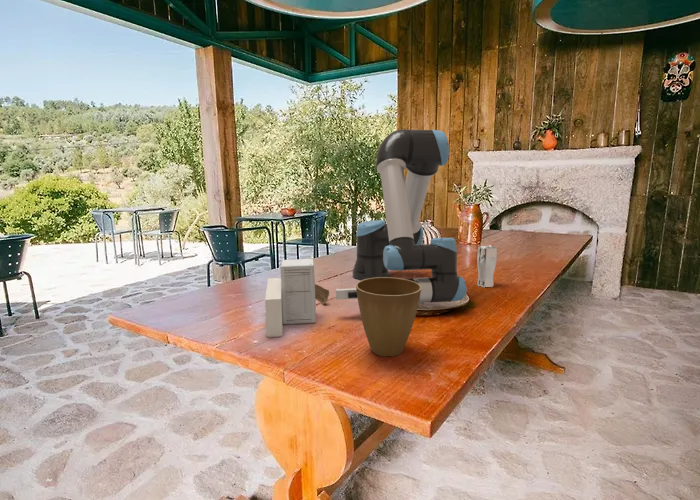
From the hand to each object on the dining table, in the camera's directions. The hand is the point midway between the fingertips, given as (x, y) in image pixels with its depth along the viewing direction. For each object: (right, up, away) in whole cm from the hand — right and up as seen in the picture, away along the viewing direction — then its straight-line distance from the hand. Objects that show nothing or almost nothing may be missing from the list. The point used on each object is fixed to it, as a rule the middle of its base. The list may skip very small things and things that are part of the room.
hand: (336, 294), depth 112 cm
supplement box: (-11, -7, +1) cm, 13 cm away
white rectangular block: (-17, -8, -2) cm, 19 cm away
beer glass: (+56, -1, +35) cm, 66 cm away
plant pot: (+13, -11, -21) cm, 27 cm away
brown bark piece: (-8, -4, +19) cm, 21 cm away
